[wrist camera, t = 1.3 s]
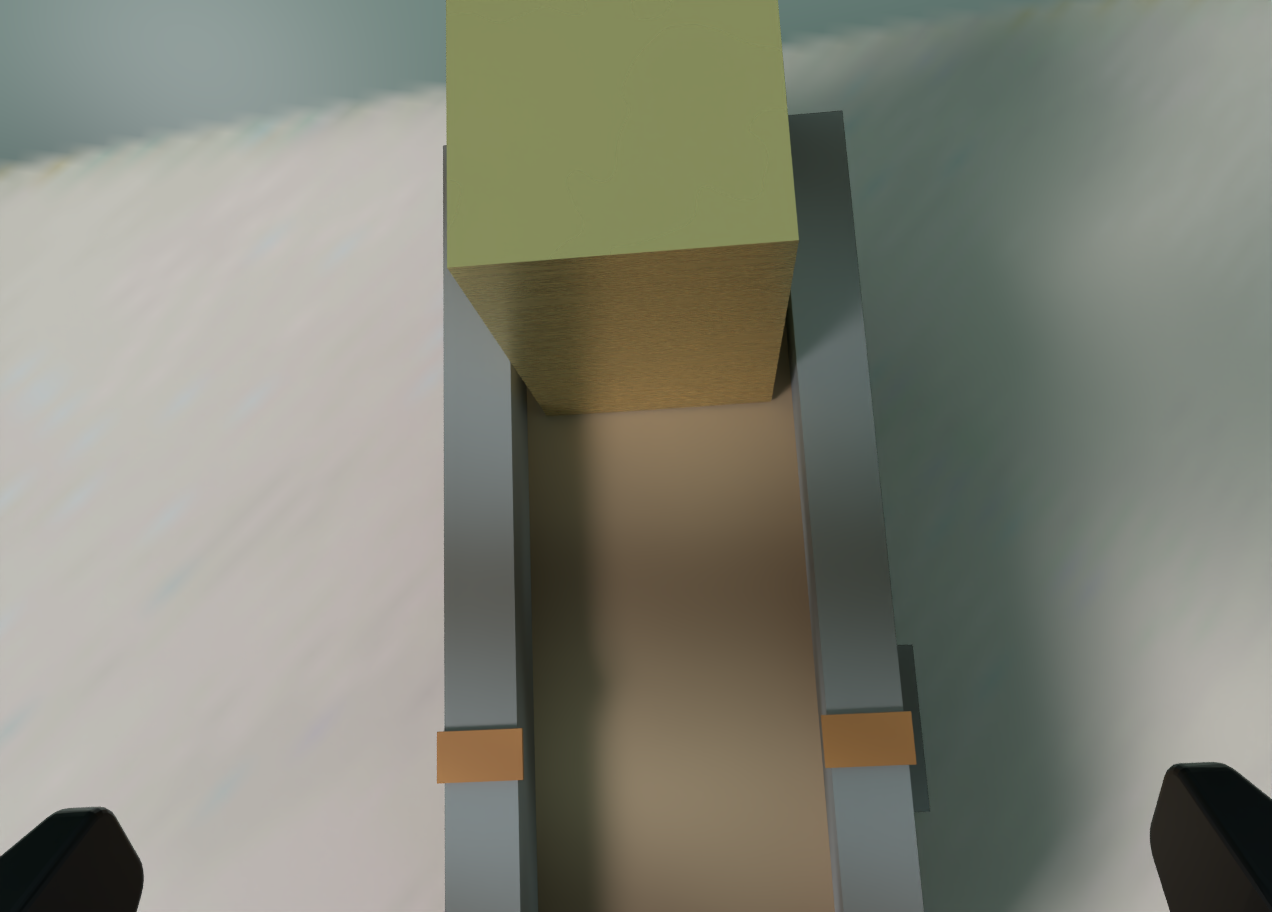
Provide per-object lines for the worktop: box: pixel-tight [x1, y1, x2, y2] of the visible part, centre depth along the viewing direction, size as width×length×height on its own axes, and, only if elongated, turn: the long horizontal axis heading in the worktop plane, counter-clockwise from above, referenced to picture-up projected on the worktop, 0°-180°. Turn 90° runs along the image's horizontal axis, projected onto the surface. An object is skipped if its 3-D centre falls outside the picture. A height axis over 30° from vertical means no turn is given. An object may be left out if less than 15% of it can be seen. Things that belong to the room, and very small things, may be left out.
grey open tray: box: [437, 111, 930, 912], centre depth 19 cm, size 18×9×7 cm, turn 3°
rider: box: [446, 0, 799, 417], centre depth 16 cm, size 4×4×7 cm
